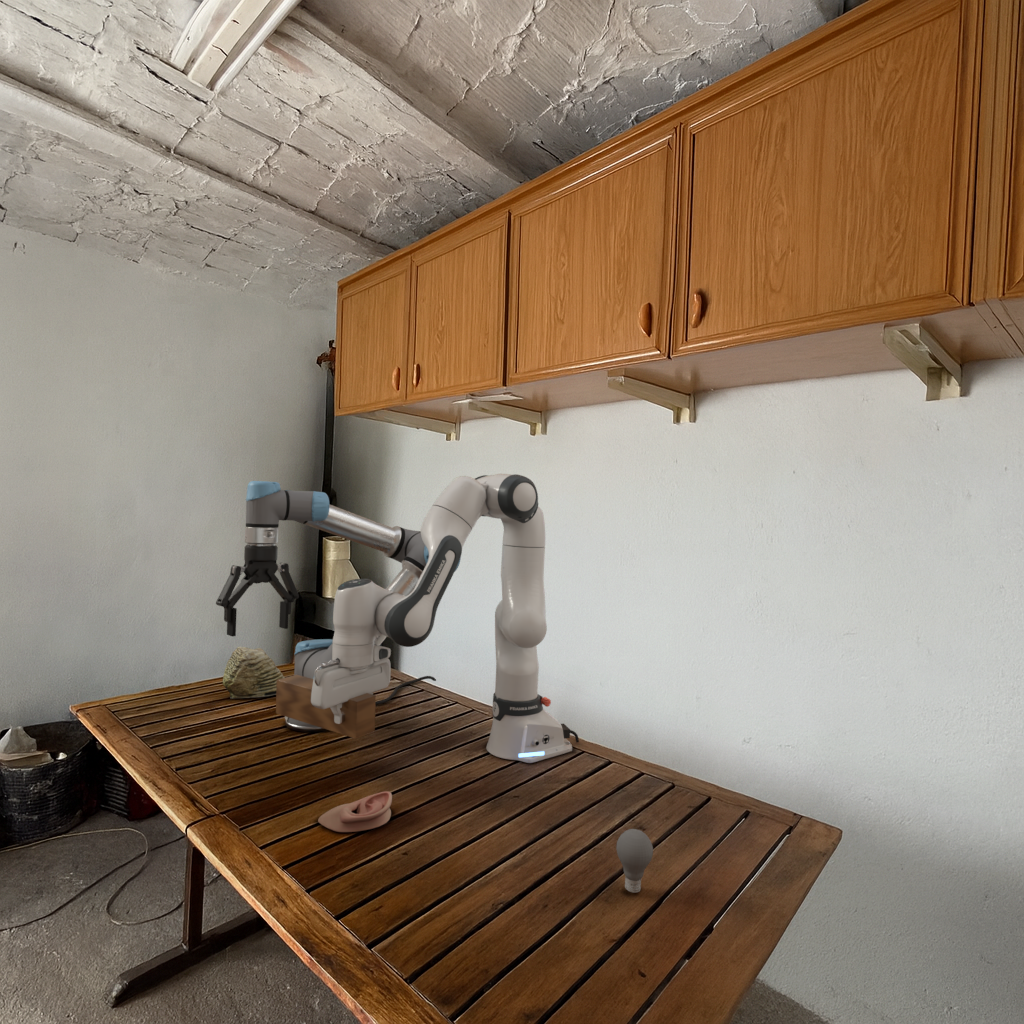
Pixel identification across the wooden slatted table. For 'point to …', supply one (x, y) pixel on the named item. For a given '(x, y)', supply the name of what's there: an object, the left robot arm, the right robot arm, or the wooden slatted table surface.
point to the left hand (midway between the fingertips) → (258, 631)
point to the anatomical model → (359, 814)
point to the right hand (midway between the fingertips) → (351, 718)
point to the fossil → (251, 674)
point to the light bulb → (634, 857)
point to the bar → (298, 706)
